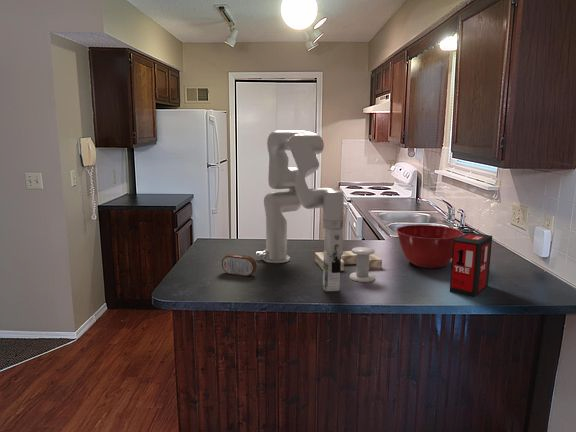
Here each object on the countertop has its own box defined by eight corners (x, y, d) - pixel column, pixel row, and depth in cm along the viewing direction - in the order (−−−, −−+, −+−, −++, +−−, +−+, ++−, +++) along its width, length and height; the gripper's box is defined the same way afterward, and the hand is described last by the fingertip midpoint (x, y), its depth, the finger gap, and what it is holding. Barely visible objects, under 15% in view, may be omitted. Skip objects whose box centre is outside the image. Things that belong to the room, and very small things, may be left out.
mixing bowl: (383, 264, 204) (384, 230, 201) (413, 252, 224) (415, 221, 221) (443, 278, 185) (446, 241, 182) (470, 263, 205) (473, 230, 203)
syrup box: (322, 286, 174) (323, 249, 172) (337, 286, 175) (338, 249, 172) (324, 291, 169) (325, 254, 166) (340, 291, 169) (341, 253, 166)
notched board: (324, 271, 193) (324, 262, 192) (314, 260, 208) (314, 252, 207) (381, 268, 197) (382, 259, 197) (368, 258, 213) (368, 250, 212)
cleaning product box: (473, 297, 164) (478, 243, 160) (449, 291, 169) (453, 239, 166) (487, 285, 176) (492, 235, 173) (464, 280, 182) (468, 232, 178)
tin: (257, 275, 187) (256, 256, 185) (254, 278, 184) (253, 258, 182) (224, 271, 192) (223, 252, 190) (220, 274, 189) (220, 254, 187)
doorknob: (354, 282, 179) (355, 253, 176) (346, 274, 188) (347, 247, 186) (378, 281, 180) (379, 252, 178) (369, 273, 190) (370, 246, 188)
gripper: (350, 228, 159) (349, 275, 162) (335, 219, 176) (335, 262, 179) (329, 229, 158) (329, 276, 161) (317, 220, 175) (316, 263, 178)
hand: (332, 268), depth 170 cm, fingers open, 9 cm apart
